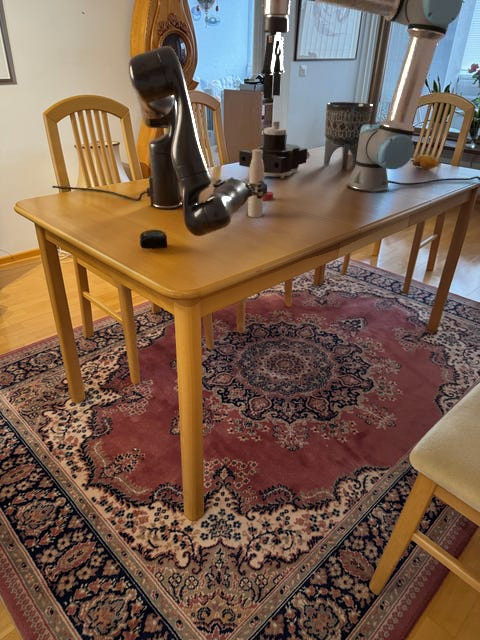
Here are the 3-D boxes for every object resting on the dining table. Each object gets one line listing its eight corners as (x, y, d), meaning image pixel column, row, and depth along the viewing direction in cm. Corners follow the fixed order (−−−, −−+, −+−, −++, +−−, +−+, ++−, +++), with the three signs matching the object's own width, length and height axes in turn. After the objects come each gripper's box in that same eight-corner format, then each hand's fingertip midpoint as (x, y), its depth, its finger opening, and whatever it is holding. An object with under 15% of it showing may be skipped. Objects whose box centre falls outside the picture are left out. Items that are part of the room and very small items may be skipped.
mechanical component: (240, 120, 182) (283, 115, 202) (239, 174, 192) (280, 164, 212) (283, 126, 170) (325, 120, 190) (280, 183, 180) (320, 171, 200)
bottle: (246, 216, 143) (247, 150, 133) (250, 212, 147) (252, 148, 137) (259, 217, 142) (262, 151, 132) (263, 213, 145) (266, 149, 136)
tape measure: (140, 252, 115) (139, 238, 113) (141, 242, 120) (140, 229, 119) (167, 251, 116) (166, 237, 114) (167, 241, 121) (166, 228, 120)
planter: (313, 167, 208) (319, 103, 195) (331, 160, 222) (338, 101, 209) (353, 173, 199) (362, 107, 185) (369, 166, 213) (379, 104, 199)
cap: (264, 201, 158) (264, 195, 157) (258, 198, 162) (258, 192, 161) (275, 199, 160) (275, 194, 159) (269, 196, 163) (269, 191, 162)
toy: (413, 162, 205) (407, 155, 217) (415, 176, 208) (410, 168, 220) (439, 154, 201) (432, 147, 214) (441, 168, 204) (434, 161, 217)
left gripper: (257, 185, 113) (272, 171, 126) (203, 180, 116) (223, 166, 130) (255, 214, 117) (270, 197, 130) (204, 208, 120) (223, 192, 133)
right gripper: (271, 20, 145) (268, 93, 156) (254, 13, 124) (251, 99, 135) (294, 20, 143) (289, 94, 154) (281, 13, 122) (276, 100, 133)
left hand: (247, 182), depth 130 cm, fingers open, 8 cm apart
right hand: (272, 97), depth 144 cm, fingers open, 13 cm apart
